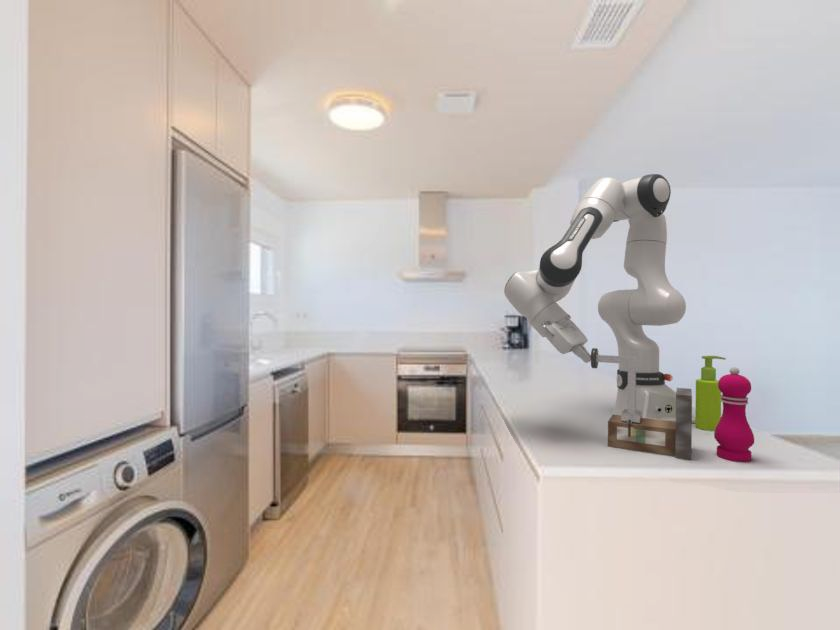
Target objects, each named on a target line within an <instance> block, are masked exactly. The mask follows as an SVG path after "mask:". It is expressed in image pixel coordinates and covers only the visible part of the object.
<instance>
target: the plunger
mask: <svg viewBox="0 0 840 630" xmlns="http://www.w3.org/2000/svg"><path fill="white" fill-rule="evenodd" d="M590 355H591V361H590V365H591V366H590V367H591V368H592V369H597V368H598V366H599V363H607V364H608V363H609V364H619V363H622V364H628V409H624V410H623V412H622V413H621V421H628V437H631V423H632V422H637V423H640V421H641V419H642V411H638V410H636V357H631V356H619V355H609V354H608V355H607V354H606V355H605V354H599V349H598V348H595V347H594V348H593V347H592V349H591V351H590Z"/></svg>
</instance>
